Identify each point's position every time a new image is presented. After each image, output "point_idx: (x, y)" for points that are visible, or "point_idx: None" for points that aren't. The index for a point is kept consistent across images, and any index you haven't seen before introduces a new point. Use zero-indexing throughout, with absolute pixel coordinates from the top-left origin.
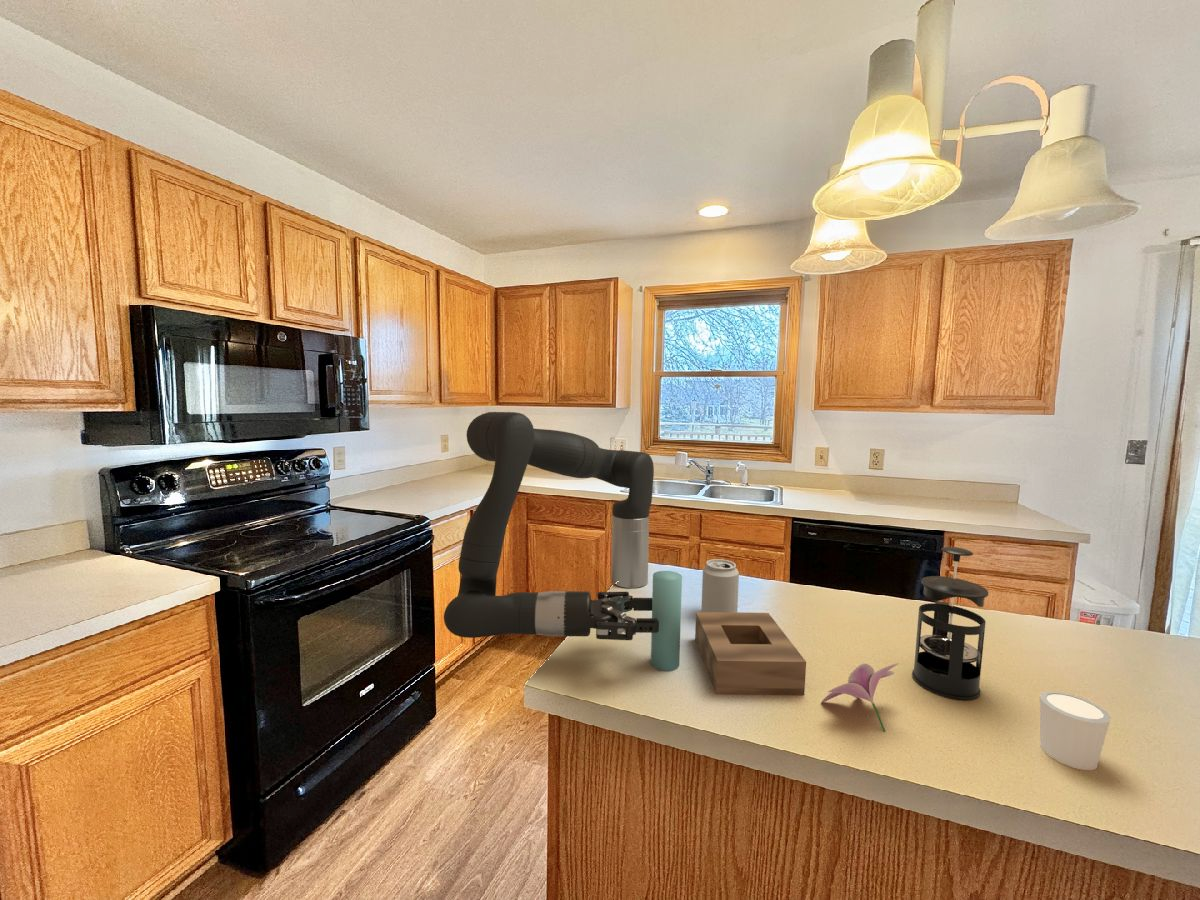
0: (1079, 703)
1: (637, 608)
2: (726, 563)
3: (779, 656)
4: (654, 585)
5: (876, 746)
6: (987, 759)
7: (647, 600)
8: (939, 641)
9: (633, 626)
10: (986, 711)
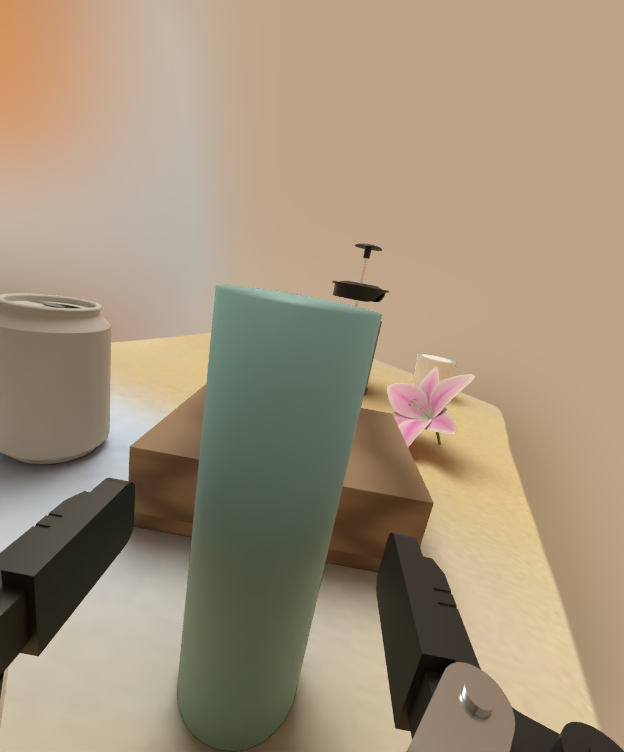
0: (431, 356)
1: (63, 611)
2: (48, 302)
3: (382, 426)
4: (319, 367)
5: (473, 460)
6: (453, 419)
7: (112, 506)
8: None
9: (549, 729)
10: (380, 391)
